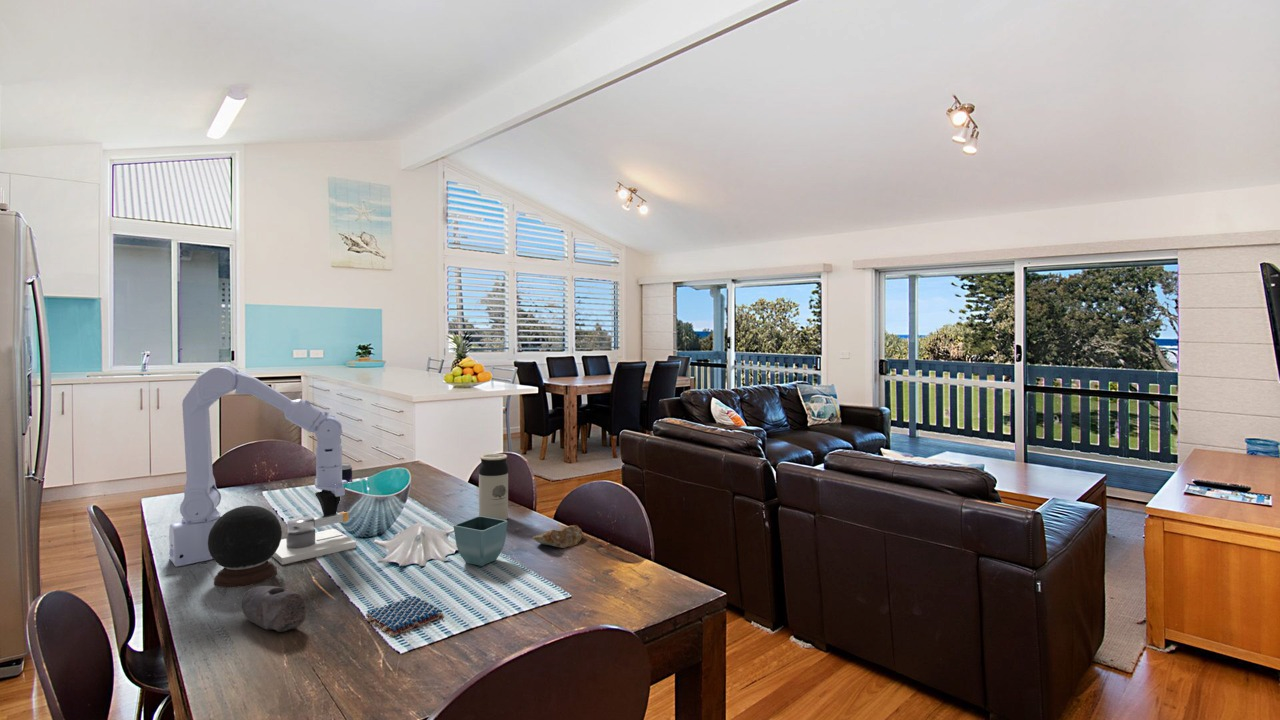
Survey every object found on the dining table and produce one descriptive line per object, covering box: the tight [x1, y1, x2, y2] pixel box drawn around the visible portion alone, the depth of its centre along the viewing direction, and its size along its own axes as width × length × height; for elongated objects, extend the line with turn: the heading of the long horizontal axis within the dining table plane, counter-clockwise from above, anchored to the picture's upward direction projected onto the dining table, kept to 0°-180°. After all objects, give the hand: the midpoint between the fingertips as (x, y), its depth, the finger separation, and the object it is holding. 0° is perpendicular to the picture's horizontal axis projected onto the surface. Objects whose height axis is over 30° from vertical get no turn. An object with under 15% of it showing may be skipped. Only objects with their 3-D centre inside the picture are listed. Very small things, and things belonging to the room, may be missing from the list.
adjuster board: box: [272, 528, 357, 565], centre depth 147 cm, size 16×14×4 cm
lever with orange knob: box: [286, 511, 349, 534], centre depth 149 cm, size 14×6×2 cm, turn 139°
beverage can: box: [342, 462, 353, 483], centre depth 187 cm, size 6×6×12 cm
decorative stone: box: [532, 524, 583, 549], centre depth 153 cm, size 10×4×15 cm
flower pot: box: [453, 515, 508, 567], centre depth 140 cm, size 9×9×9 cm
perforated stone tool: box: [240, 585, 307, 633], centre depth 108 cm, size 15×5×7 cm, turn 61°
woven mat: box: [364, 595, 444, 637], centre depth 111 cm, size 10×11×2 cm
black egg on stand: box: [208, 505, 283, 589], centre depth 129 cm, size 13×13×15 cm
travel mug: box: [478, 453, 509, 521], centre depth 172 cm, size 8×8×18 cm
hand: (329, 519), depth 152 cm, fingers closed
